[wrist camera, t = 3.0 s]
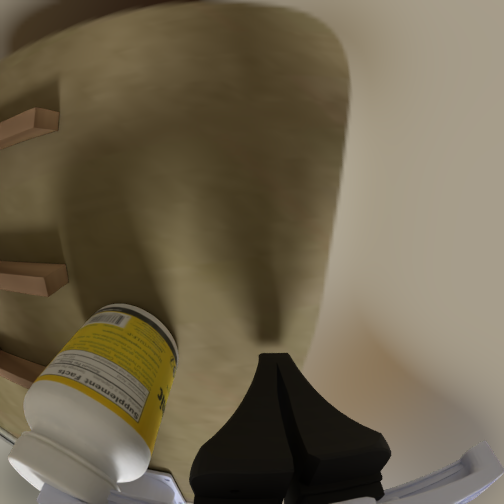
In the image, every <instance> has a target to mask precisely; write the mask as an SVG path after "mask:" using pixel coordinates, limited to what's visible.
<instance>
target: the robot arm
mask: <svg viewBox="0 0 504 504" xmlns="http://www.w3.org/2000/svg"><path fill="white" fill-rule="evenodd" d="M390 457H391V450H390V448H389V446H388V444H387V442H386V440H385V439H384V437H383V435H382V434H381V433H379V432H377V431H374V430H372V429H370V428H367V427H365V426H363V425H361V424H359V423H357V422H355V421H354V420H352V419H350V418H349V417H347V416H346V415H344V414H343V413H341V412H340V411H338V410H337V409H336V408H335V407H333V406H332V405H331V404H330V403H328V402H327V401H326V400H325V399H324V398H323V397H322V396H321V395H320V394H319V393H318V392H317V391H316V390H315V389H314V388H313V387H312V386H311V384H310V383H309V382H308V381H307V379H306V378H305V377H304V376H303V374H302V373H301V372H300V370H299V369H298V367H297V366H296V365H295V363H294V361H293V360H292V358H291V356H290V355H289V354H288V353H261V354H260V355H259V362H258V366H257V370H256V373H255V376H254V378H253V381H252V383H251V385H250V387H249V390H248V392H247V394H246V395H245V397H244V399H243V401H242V402H241V404H240V405H239V407H238V408H237V410H236V411H235V413H234V414H233V415H232V417H231V418H230V419H229V420H228V421H227V423H226V424H225V425H224V426H223V427H222V428H221V429H220V430H219V431H218V432H217V433H216V434H215V435H214V436H213V437H212V438H211V439H209V440H208V441H207V442H206V443H205V444H204V445H202V446H201V448H200V450H199V451H198V453H197V455H196V457H195V459H194V462H193V464H192V467H191V471H190V478H189V483H190V485H191V488H192V490H193V492H194V495H195V497H194V504H282V502H283V499H284V504H466V503H468V502H470V501H471V500H473V499H474V498H476V497H477V496H478V495H479V494H481V493H482V492H483V491H484V490H485V489H487V488H488V487H489V486H490V485H491V484H492V483H494V481H496V480H497V479H498V478H499V477H500V476H501V475H502V474H503V473H504V468H503V466H502V465H501V463H500V461H499V460H498V458H497V457H496V455H495V453H494V452H493V450H492V449H491V447H490V446H489V444H488V443H487V441H486V440H484V441H482V442H480V443H478V444H477V445H475V446H474V447H472V448H470V449H469V450H467V451H466V452H465V453H464V454H463V455H462V457H461V458H460V459H459V460H458V461H456V462H454V463H452V464H450V465H447V466H445V467H443V468H442V469H439V470H437V471H435V472H432V473H430V474H428V475H425V476H423V477H420V478H418V479H415V480H413V481H410V482H407V483H405V484H402V485H399V486H396V487H393V488H390V489H387V490H383V487H382V485H381V482H380V481H381V480H382V475H381V472H380V471H381V470H382V469H383V467H384V466H385V465H386V463H387V462H388V460H389V459H390ZM117 485H118V486H119V488H120V491H121V492H120V491H116V490H113V489H111V490H110V493H111V495H108V498H107V500H108V504H187V503H186V501H185V500H184V498H183V496H182V494H181V492H180V491H179V489H178V487H177V485H176V483H175V481H174V479H173V477H172V475H170V474H168V473H164V472H158V471H153V470H148V469H147V470H146V471H145V473H144V474H143V475H142V476H141V477H139V478H138V479H136V480H133V481H130V482H117ZM37 502H38V503H39V504H87V503H84V502H81V501H80V500H79V499H77V498H75V497H73V496H71V495H69V494H67V493H65V492H62V491H60V490H58V489H56V488H54V487H53V486H51V485H49V484H47V483H44V484H43V486H42V489H41V491H40V493H39V495H38V497H37Z"/></svg>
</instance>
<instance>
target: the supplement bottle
mask: <svg viewBox="0 0 504 504" xmlns="http://www.w3.org/2000/svg"><path fill="white" fill-rule="evenodd" d="M177 365H178V350H177V346H176V343H175V341H174V339H173V337H172V335H171V333H170V332H169V331H168V329H167V328H166V327H165V326H164V325H163V324H162V323H161V322H160V321H159V320H158V319H157V318H156V317H154V316H153V315H151V314H150V313H148V312H146V311H145V310H143V309H141V308H138V307H136V306H132V305H128V304H111V305H107V306H105V307H102V308H101V309H99V310H98V311H97V312H96V313H94V314H93V315H92V316H91V317H90V318H89V319H88V320H87V322H86V323H85V324H84V325H83V326H82V327H81V328H80V329H79V331H77V332H76V334H75V335H74V336H73V337H72V338H71V339H70V340H69V342H68V343H67V344H66V345H65V346H64V347H63V349H62V350H61V351H60V352H59V353H58V354H57V355H56V356H55V358H54V359H53V360H52V361H51V362H50V363H49V365H48V366H47V367H46V368H45V369H44V371H43V372H42V373H41V374H40V375H39V376H38V378H37V379H36V380H35V382H34V383H33V384H32V386H31V387H30V389H29V390H28V392H27V393H26V395H25V398H24V413H25V417H26V419H27V422H28V424H29V426H30V428H31V431H24V432H23V433H22V434H21V436H20V437H19V438H18V440H17V441H16V443H15V445H14V447H13V448H12V450H11V452H10V454H9V456H8V460H9V462H10V464H11V465H12V466H13V467H14V468H15V470H16V471H17V472H18V473H19V474H20V475H21V476H22V477H23V478H24V479H26V480H27V481H28V482H29V483H30V484H32V485H33V486H34V487H35V488H37V489H38V490H40V491H41V489H42V486H43V484H44V483H47V484H49V485H51V486H53V487H54V488H56V489H58V490H60V491H62V492H65V493H67V494H69V495H71V496H73V497H75V498H77V499H79V500H80V501H81V502H84V503H87V504H108V500H107V498H108V495H111V493H110V490H111V489H113V490H116V491H120V488H119V486H118V485H117V482H130V481H133V480H136V479H138V478H139V477H141V476H142V475H143V474H144V473H145V471H146V470H147V468H148V465H149V462H150V459H151V456H152V452H153V449H154V445H155V441H156V437H157V433H158V430H159V426H160V423H161V419H162V417H163V413H164V410H165V406H166V402H167V399H168V396H169V392H170V389H171V386H172V383H173V380H174V377H175V373H176V370H177ZM120 492H121V491H120Z"/></svg>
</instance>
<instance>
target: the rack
mask: <svg viewBox="0 0 504 504" xmlns="http://www.w3.org/2000/svg"><path fill="white" fill-rule="evenodd" d="M58 123H59V112H56V111H52V110H47V109H43V108H38V107H35V108H32V109H30V110H27V111H25V112H22V113H20V114H18V115H16V116H13V117H11V118H9V119H7V120H5V121H3V122H1V123H0V150H1V149H4V148H6V147H9V146H12V145H14V144H17V143H20V142H23V141H26V140H29V139H32V138H35V137H38V136H41V135H45V134H48V133H51V132H55V131H58ZM68 282H69V280H68V275H67V270H66V264H47V263H28V262H11V261H0V289H2V290H7V291H13V292H19V293H25V294H32V295H38V296H45V297H49V296H50V295H52V294H53V293H54V292H56V291H57V290H58V289H60V288H61V287H63V286H64V285H65V284H67V283H68ZM45 368H46V367H45V366H42V365H39V364H36V363H33V362H30V361H27V360H25V359H22V358H19V357H17V356H14V355H11V354H9V353H6V352H4V351H2V350H1V349H0V376H2V377H4V378H6V379H8V380H10V381H12V382H14V383H16V384H18V385H21V386H23V387H25V388H27V389H30V387H31V386H32V384H33V383H34V382H35V380H36V379H37V378H38V376H39V375H40V374H41V373H42V372H43V371H44V369H45Z"/></svg>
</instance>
